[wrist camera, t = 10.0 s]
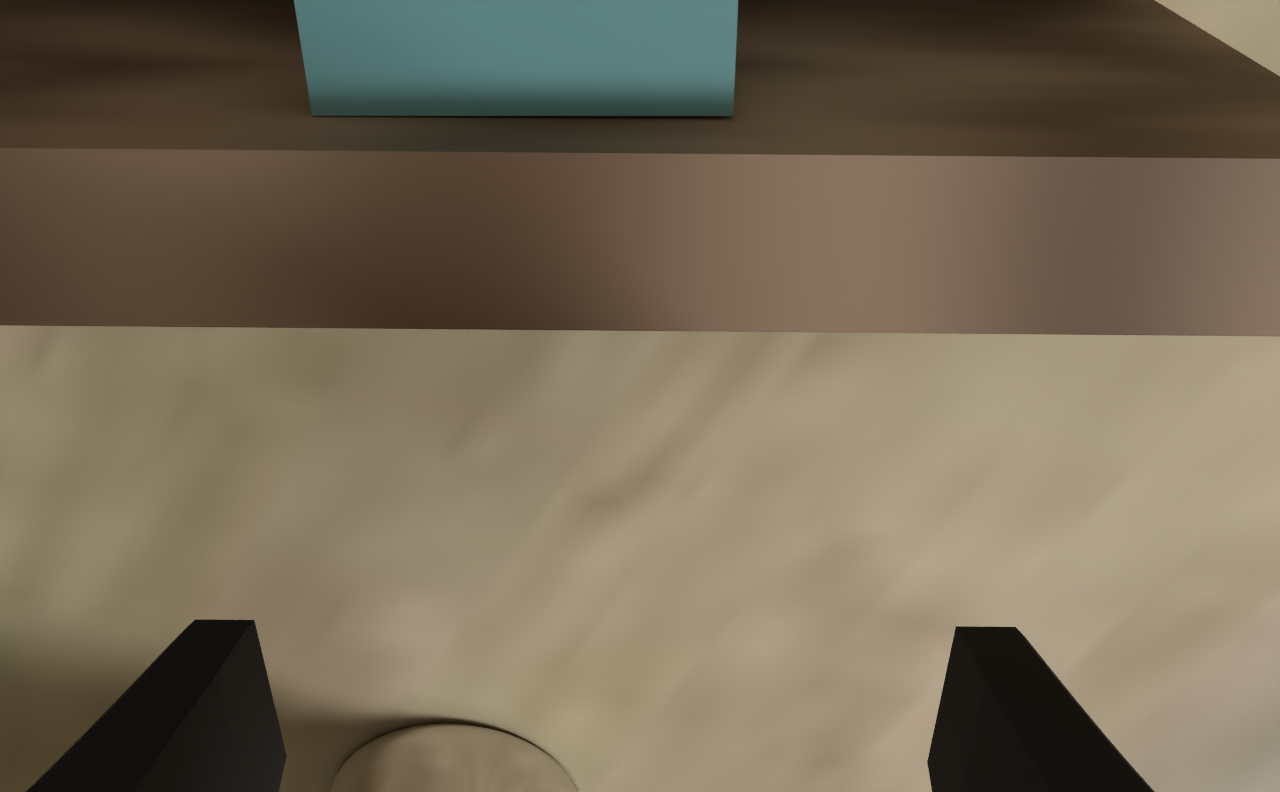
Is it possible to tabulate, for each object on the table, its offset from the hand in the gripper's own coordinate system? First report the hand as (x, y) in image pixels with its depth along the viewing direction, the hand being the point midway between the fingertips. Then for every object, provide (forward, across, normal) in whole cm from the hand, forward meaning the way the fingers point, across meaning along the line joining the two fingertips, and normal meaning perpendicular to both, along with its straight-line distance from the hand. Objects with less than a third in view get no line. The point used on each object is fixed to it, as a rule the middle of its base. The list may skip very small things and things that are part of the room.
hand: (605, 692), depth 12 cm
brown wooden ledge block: (+9, +1, -5) cm, 11 cm away
